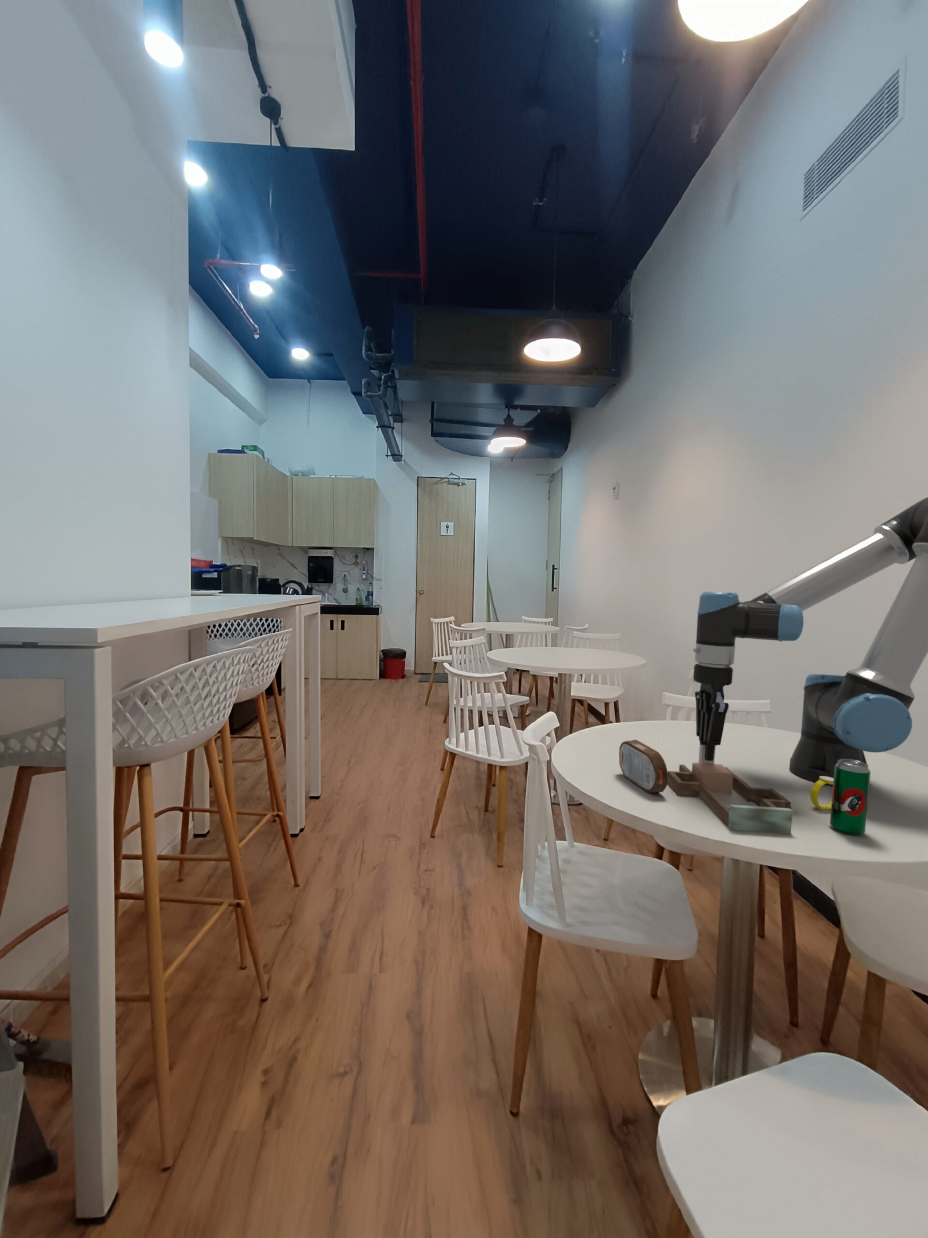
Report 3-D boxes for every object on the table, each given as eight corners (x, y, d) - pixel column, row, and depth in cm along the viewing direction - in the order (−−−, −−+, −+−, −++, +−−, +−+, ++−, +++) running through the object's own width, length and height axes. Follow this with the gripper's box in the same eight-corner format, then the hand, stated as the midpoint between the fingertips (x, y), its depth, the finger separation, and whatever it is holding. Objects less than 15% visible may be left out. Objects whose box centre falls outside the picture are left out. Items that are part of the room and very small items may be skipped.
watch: (830, 806, 108) (834, 776, 108) (843, 812, 106) (847, 781, 105) (805, 805, 107) (809, 775, 107) (817, 811, 104) (822, 780, 104)
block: (720, 782, 118) (721, 764, 118) (731, 793, 112) (733, 773, 112) (691, 781, 119) (692, 762, 118) (701, 791, 113) (702, 772, 112)
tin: (668, 799, 108) (670, 756, 107) (653, 799, 107) (656, 756, 107) (628, 772, 123) (630, 735, 122) (615, 773, 122) (617, 735, 121)
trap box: (744, 779, 121) (745, 761, 121) (815, 835, 94) (817, 812, 94) (660, 774, 122) (661, 756, 122) (706, 828, 95) (707, 805, 95)
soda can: (872, 835, 95) (878, 766, 94) (849, 838, 93) (855, 768, 93) (844, 823, 100) (850, 757, 99) (822, 825, 98) (828, 758, 97)
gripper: (685, 659, 124) (678, 762, 126) (706, 668, 111) (698, 783, 113) (719, 661, 124) (712, 765, 125) (745, 670, 111) (736, 786, 112)
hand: (705, 773), depth 119 cm, fingers closed
